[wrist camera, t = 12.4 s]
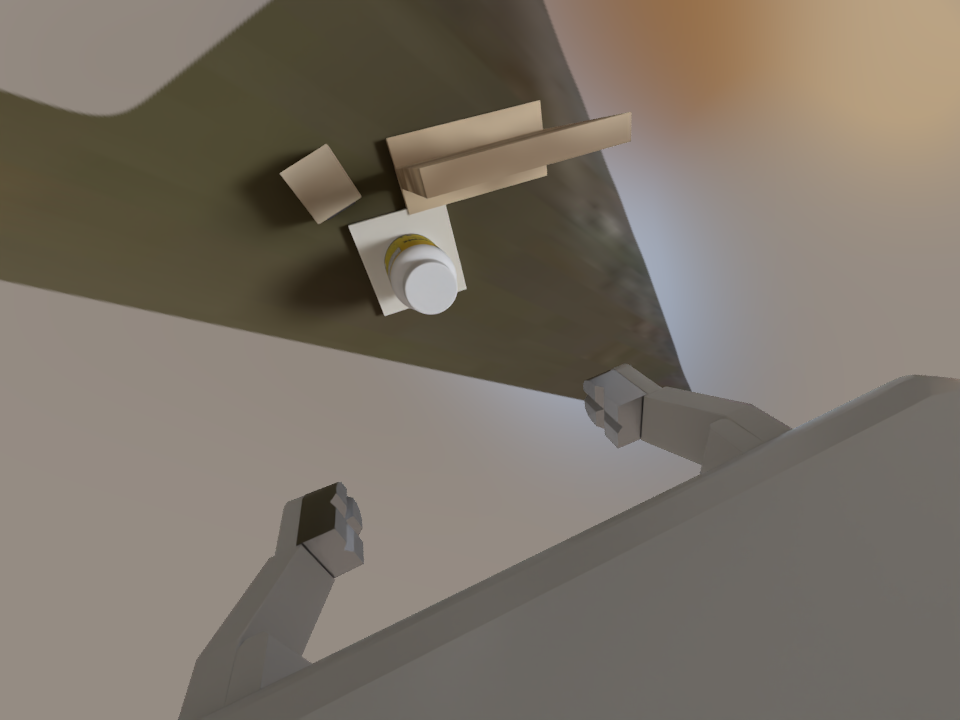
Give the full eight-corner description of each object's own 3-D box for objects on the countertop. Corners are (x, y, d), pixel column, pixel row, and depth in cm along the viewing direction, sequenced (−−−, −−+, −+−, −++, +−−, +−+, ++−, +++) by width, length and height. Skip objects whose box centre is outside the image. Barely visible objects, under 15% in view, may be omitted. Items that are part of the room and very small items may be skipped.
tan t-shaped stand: (385, 139, 29) (406, 122, 18) (534, 102, 31) (632, 67, 21) (408, 213, 32) (437, 236, 22) (542, 175, 35) (630, 178, 24)
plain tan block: (287, 172, 28) (279, 173, 25) (328, 146, 28) (326, 143, 25) (323, 220, 30) (319, 226, 27) (361, 195, 31) (362, 199, 27)
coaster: (348, 224, 31) (348, 225, 30) (442, 197, 33) (444, 198, 32) (384, 313, 36) (384, 316, 35) (464, 286, 37) (466, 288, 37)
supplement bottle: (448, 246, 34) (479, 271, 26) (426, 296, 36) (448, 333, 28) (396, 221, 32) (412, 239, 23) (375, 275, 33) (383, 310, 25)
